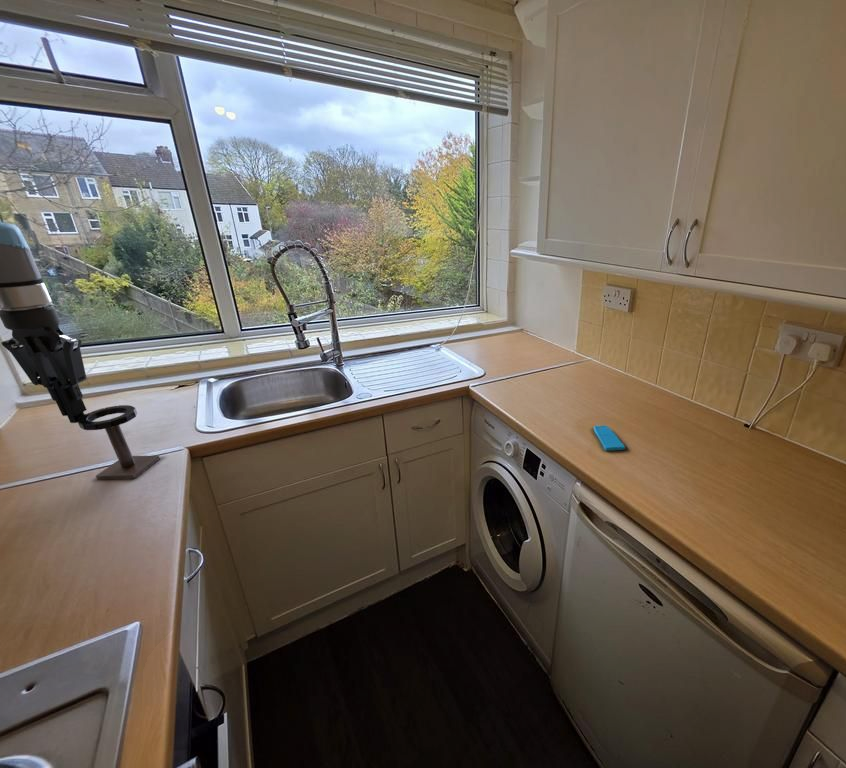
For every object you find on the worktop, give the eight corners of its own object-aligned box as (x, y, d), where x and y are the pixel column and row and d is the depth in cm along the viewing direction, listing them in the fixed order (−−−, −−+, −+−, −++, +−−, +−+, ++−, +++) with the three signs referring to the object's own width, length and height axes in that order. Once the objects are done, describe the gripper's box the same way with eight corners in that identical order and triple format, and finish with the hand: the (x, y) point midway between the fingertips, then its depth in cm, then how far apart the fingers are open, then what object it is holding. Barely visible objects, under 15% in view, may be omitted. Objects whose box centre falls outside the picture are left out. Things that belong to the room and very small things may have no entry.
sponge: (612, 425, 118) (593, 423, 117) (627, 447, 107) (606, 446, 106) (611, 430, 118) (592, 428, 117) (625, 452, 107) (604, 451, 106)
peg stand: (97, 479, 91) (75, 433, 87) (125, 459, 99) (107, 415, 94) (134, 478, 92) (115, 432, 87) (160, 458, 99) (143, 415, 95)
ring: (147, 410, 95) (132, 370, 91) (114, 429, 86) (96, 387, 82) (93, 411, 94) (76, 370, 90) (55, 430, 86) (34, 387, 82)
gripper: (81, 302, 84) (123, 404, 93) (6, 302, 83) (56, 405, 92) (45, 311, 77) (94, 420, 86) (-37, 310, 76) (22, 421, 85)
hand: (74, 412), depth 89 cm, fingers closed on ring
